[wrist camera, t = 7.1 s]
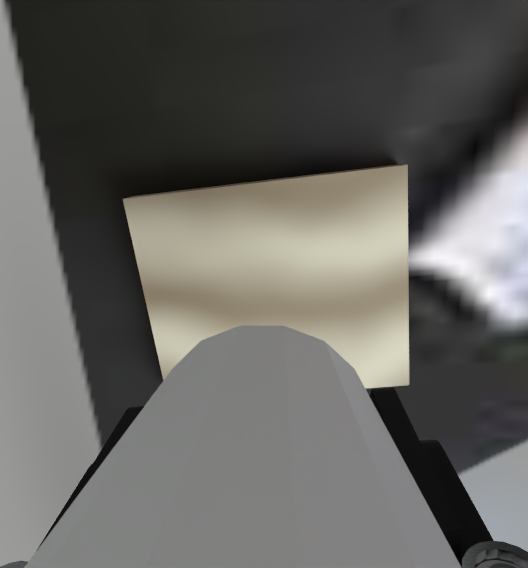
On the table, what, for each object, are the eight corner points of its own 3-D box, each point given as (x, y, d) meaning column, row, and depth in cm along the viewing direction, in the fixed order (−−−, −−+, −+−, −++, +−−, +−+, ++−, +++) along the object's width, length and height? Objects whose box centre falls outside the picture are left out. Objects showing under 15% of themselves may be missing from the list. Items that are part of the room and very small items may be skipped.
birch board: (133, 196, 21) (122, 198, 20) (398, 164, 20) (407, 164, 18) (175, 388, 25) (168, 403, 23) (401, 371, 24) (409, 385, 22)
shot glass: (129, 495, 12) (-78, 947, 5) (149, 276, 9) (-166, 555, 3) (357, 535, 12) (455, 1036, 5) (426, 328, 10) (760, 719, 3)
